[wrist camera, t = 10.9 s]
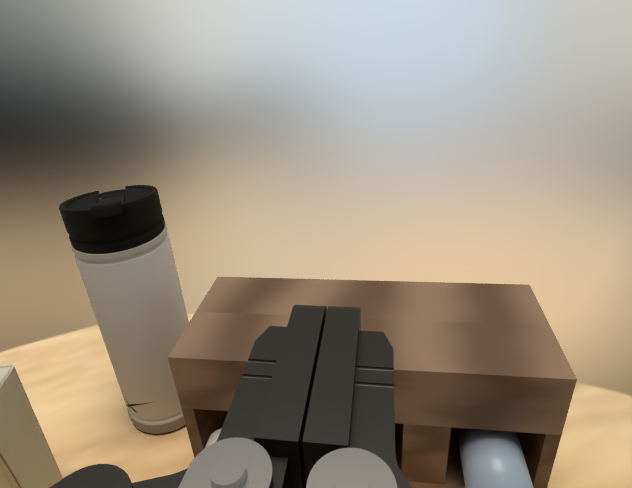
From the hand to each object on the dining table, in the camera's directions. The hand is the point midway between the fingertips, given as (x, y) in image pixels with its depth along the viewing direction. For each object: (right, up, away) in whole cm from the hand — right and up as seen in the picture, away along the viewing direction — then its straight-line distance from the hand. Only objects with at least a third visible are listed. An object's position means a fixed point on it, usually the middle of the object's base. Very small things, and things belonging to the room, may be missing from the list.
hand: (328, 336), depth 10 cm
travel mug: (-13, -12, +29) cm, 34 cm away
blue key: (+9, -11, +14) cm, 20 cm away
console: (+3, -14, +22) cm, 26 cm away
